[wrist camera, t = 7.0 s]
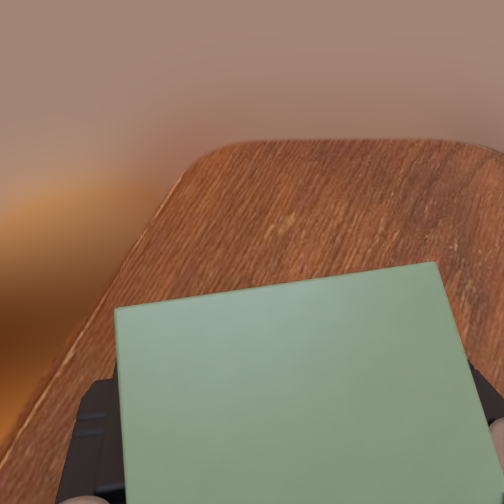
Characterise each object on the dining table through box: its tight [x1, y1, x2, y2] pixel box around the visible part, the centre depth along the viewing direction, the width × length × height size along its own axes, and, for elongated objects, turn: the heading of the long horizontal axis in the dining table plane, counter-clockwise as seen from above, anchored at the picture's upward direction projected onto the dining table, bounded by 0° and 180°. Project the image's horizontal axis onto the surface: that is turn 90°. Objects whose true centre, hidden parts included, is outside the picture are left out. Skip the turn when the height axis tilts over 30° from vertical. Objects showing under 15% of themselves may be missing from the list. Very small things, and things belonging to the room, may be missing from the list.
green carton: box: [114, 262, 504, 504], centre depth 11 cm, size 5×5×10 cm
